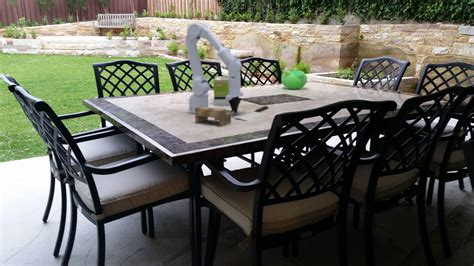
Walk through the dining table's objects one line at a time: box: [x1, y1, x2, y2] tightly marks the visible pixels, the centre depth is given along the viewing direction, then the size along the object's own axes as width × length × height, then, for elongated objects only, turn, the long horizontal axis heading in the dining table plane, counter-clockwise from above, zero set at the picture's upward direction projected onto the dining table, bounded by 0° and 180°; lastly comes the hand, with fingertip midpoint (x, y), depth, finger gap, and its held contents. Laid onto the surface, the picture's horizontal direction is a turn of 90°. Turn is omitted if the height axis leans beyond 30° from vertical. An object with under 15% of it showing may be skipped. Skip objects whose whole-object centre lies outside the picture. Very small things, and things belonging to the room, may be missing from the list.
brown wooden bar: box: [214, 109, 236, 121], centre depth 189 cm, size 4×14×2 cm, turn 156°
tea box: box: [213, 75, 231, 107], centre depth 222 cm, size 15×10×15 cm
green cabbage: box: [280, 67, 308, 90], centre depth 275 cm, size 18×17×15 cm
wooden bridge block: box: [194, 106, 232, 127], centre depth 178 cm, size 14×8×7 cm, turn 61°
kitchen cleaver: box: [234, 105, 270, 122], centre depth 196 cm, size 31×2×10 cm
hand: (234, 112), depth 195 cm, fingers closed
